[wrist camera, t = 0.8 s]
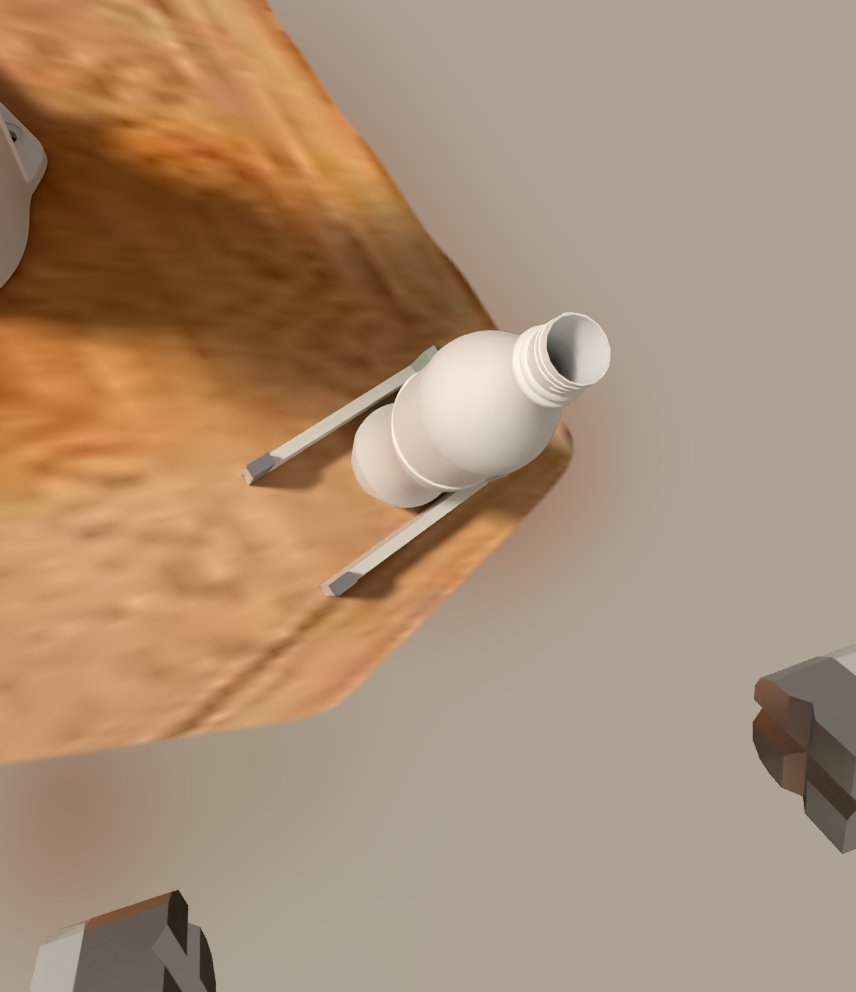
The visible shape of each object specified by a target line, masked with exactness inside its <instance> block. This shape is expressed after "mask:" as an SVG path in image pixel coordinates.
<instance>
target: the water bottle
mask: <svg viewBox="0 0 856 992" xmlns="http://www.w3.org/2000/svg"><path fill="white" fill-rule="evenodd" d="M610 351H611V350H610V347H609V343H608V339H607V336H606V335H605V333H604V332H603V330H602V329H601V327H600V326H599V324H597V323H596V322H595V321H593V320H592V319H591V318H589V317H588V316H586V315H583V314H579V313H575V312H566V313H563V314H561V315H560V316H559V317H557V318H554V319H552V320H550V321H549V322H548V323H547V324H543V325H538V326H534V327H531V328H529V329H528V330H526V331H525V332H523V333H522V334H521V335H517V334H514V333H509V332H505V331H496V330H486V331H477V332H473V333H470V334H467V335H463V336H460V337H458V338H457V339H455V340H453V341H451V342H449V343H448V344H447V345H445V346H444V347H442V348H441V349H440V350H439V351H438V352H437V353H436V354H435V355H434V356H433V357H432V359H431V360H430V362H429V363H428V364H427V365H426V366H425V367H424V368H423V369H422V370H420V371H418V372H417V373H415V374H414V375H412V376H411V377H410V378H409V379H407V380H406V381H405V383H404V384H403V386H402V387H401V389H400V391H399V393H398V395H397V397H396V400H395V403H392V404H388V405H385V406H382V407H380V408H378V409H376V410H375V411H374V412H372V413H371V414H370V415H369V416H368V417H367V418H366V419H365V420H364V421H363V423H362V424H361V425H360V427H359V428H358V430H357V432H356V434H355V438H354V444H353V451H352V457H351V464H352V468H353V472H354V474H355V477H356V479H357V481H358V483H359V484H360V486H361V487H362V489H363V490H364V491H365V492H366V493H368V494H369V495H371V496H373V497H375V498H377V499H378V500H380V501H382V502H384V503H386V504H387V505H389V506H391V507H397V508H411V507H417V506H421V505H424V504H426V503H428V502H430V501H432V500H434V499H435V498H436V497H438V496H439V495H440V494H441V493H442V492H455V491H460V490H464V489H467V488H470V487H473V486H475V485H478V484H480V483H481V482H483V481H485V480H486V479H487V478H490V477H492V476H497V475H503V474H508V473H511V472H513V471H516V470H518V469H520V468H522V467H523V466H525V465H527V464H528V463H530V462H531V461H532V460H533V459H535V458H536V457H537V456H538V455H539V454H540V453H541V452H542V451H543V450H544V448H545V447H546V446H547V445H548V444H549V442H550V440H551V438H552V436H553V435H554V433H555V431H556V429H557V426H558V423H559V420H560V416H561V412H562V408H563V407H564V406H567V405H569V404H571V403H572V402H574V401H575V400H576V399H577V398H578V397H579V396H580V394H581V393H582V392H583V391H584V390H585V389H587V388H589V387H590V386H592V385H594V384H596V383H597V382H598V381H599V380H600V379H601V378H602V377H603V376H604V375H605V373H606V371H607V369H608V366H609V364H610Z"/></svg>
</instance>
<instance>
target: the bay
mask: <svg viewBox="0 0 856 992" xmlns="http://www.w3.org/2000/svg"><path fill="white" fill-rule="evenodd" d="M437 352H438V350H437V349H436V347H435V346H432V347H430V348H429V349H427V350H425V351H424V352H423V353H422V354H421V355H420V356H419V357H418V358H417V359H416V360H415V361H414V362H413V363H412V364H411V365H410V366H408V367H406V368H405V369H403V370H402V371H400V372H398V373H397V374H395V375H394V376H392V377H390V378H389V379H387V380H386V381H384V382H382V383H381V384H379V385H378V386H376V387H374V388H373V389H371V390H370V391H368V392H366V393H365V394H363V395H362V396H360V397H359V398H357V399H355V400H354V401H352V402H351V403H349V404H347V405H346V406H344V407H343V408H341V409H339V410H338V411H336V412H335V413H333V414H331V415H330V416H328V417H327V418H325V419H323V420H322V421H320V422H319V423H317V424H315V425H314V426H312V427H311V428H309V429H307V430H306V431H304V432H303V433H301V434H299V435H298V436H296V437H295V438H293V439H291V440H290V441H288V442H287V443H285V444H283V445H282V446H280V447H279V448H277V449H276V450H274V451H272V452H271V453H269V452H268V453H266V454H265V455H263V456H261V457H260V458H258V459H257V460H255V461H254V462H252V463H250V464H249V465H247V467H246V469H245V471H244V473H243V474H242V476H243V478H244V479H245V481H246V482H247V483H248V485H250V484H252V483H254V482H255V481H257V480H258V479H260V478H261V477H263V476H265V475H266V474H268V473H269V472H271V471H272V470H274V469H275V468H277V467H279V466H280V465H282V464H283V463H285V462H286V461H288V460H290V459H291V458H293V457H294V456H296V455H297V454H299V453H301V452H302V451H304V450H305V449H307V448H308V447H310V446H312V445H313V444H315V443H316V442H318V441H319V440H321V439H323V438H324V437H326V436H327V435H329V434H330V433H332V432H334V431H335V430H337V429H338V428H340V427H341V426H343V425H345V424H346V423H348V422H349V421H351V420H352V419H354V418H355V417H357V416H359V415H360V414H362V413H363V412H365V411H366V410H368V409H370V408H371V407H373V406H374V405H376V404H377V403H379V402H381V401H382V400H384V399H385V398H387V397H388V396H390V395H392V394H393V393H395V392H396V391H398V390H399V389H401V387H402V386H403V384H404V383H405V381H406V380H407V379H409V378H410V377H411V376H412V375H414V374H415V373H417V372H418V371H420V370H422V369H423V368H424V367H425V366H426V365H427V364H428V363H429V362H430V360H431V359H432V357H433V356H434V355H435V354H436V353H437ZM511 473H512V472H511ZM511 473H508V474H503V475H497V476H492V477H490V478H487V479H486V480H485V481H483V482H481V483H480V484H478V485H475V486H473V487H470V488H467V489H464V490H460V491H455V492H448V493H447V494H446V495H444V496H443V497H441V498H440V499H439V500H437V501H436V502H435V503H433V504H432V505H430V506H429V507H428V508H426V509H425V510H424V511H422V512H421V513H419V514H418V515H417V516H415V517H414V518H413V519H411V520H410V521H408V522H407V523H406V524H404V525H403V526H402V527H400V528H399V529H397V530H396V531H395V532H393V533H392V534H390V535H389V536H388V537H386V538H385V539H384V540H382V541H381V542H379V543H378V544H377V545H375V546H374V547H373V548H371V549H370V550H368V551H367V552H366V553H364V554H363V555H362V556H360V557H359V558H357V559H356V560H355V561H353V562H352V563H351V564H349V565H348V566H346V567H345V568H344V569H342V570H341V571H339V572H338V573H337V574H335V575H334V576H333V577H331V578H330V579H328V580H327V581H326V582H324V583H323V584H322V585H320V586H319V587H320V588H321V590H322V591H323V593H324V594H325V595H326V596H339V595H341V594H342V593H343V592H345V591H346V590H347V589H349V588H350V587H351V586H353V585H354V584H356V583H357V582H358V581H357V580H358V579H359V578H360V577H362V576H363V575H364V574H366V573H367V572H368V571H370V570H371V569H372V568H374V567H375V566H377V565H378V564H379V563H381V562H382V561H383V560H385V559H386V558H387V557H389V556H390V555H391V554H393V553H394V552H395V551H397V550H398V549H400V548H401V547H402V546H404V545H405V544H406V543H408V542H409V541H410V540H412V539H413V538H414V537H416V536H417V535H419V534H420V533H421V532H423V531H424V530H425V529H427V528H428V527H429V526H431V525H432V524H433V523H435V522H436V521H437V520H439V519H440V518H442V517H443V516H444V515H446V514H447V513H448V512H450V511H451V510H452V509H454V508H455V507H456V506H458V505H459V504H461V503H462V502H463V501H465V500H466V499H467V498H469V497H470V496H471V495H473V494H474V493H475V492H477V491H478V490H479V489H481V488H482V487H484V486H485V485H486V484H488V483H489V482H492V481H495V480H498V479H501V478H503V477H506V476H508V475H509V474H511Z"/></svg>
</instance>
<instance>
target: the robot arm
mask: <svg viewBox="0 0 856 992" xmlns="http://www.w3.org/2000/svg"><path fill="white" fill-rule="evenodd" d="M11 137H13V138H15V139H17V140H16V141H15V142H14V143H13V141H12V138H11ZM47 163H48V159H47V155H46V153H45V151H44V149H43V147H42V145H41V143H40V142H39V141H38V139H37V138H36V137H35V136H34V135H33V134H32V133H31V132H30V131H29V130H28V129H27V128H26V127H25V126H24V125H23V124H22V123H21V122H20V121H19V120H18V119H17V118H16V117H15V116H14V115H13V114H12V113H11V112H10V111H9V110H8V109H7V108H6V107H5V106H4V105H3V104H2V103H1V102H0V288H1V287H2V286H3V285H4V284H5V283H6V282H7V280H8V279H9V278H10V277H11V275H12V274H13V273H14V271H15V269H16V268H17V266H18V264H19V262H20V260H21V258H22V256H23V253H24V251H25V247H26V244H27V239H28V233H29V214H30V201H31V197H32V194H33V193H34V191H35V189H36V188H37V186H38V184H39V183H40V181H41V179H42V177H43V175H44V173H45V171H46V168H47ZM754 700H755V701H756V702H757V703H758V704H759V705H760V706H761V707H762V709H761V711H760V712H759V714H758V715H757V717H756V718H755V720H754V721H753V742H754V744H755V747H756V750H757V752H758V755H759V758H760V760H761V761H762V763H763V765H764V766H765V768H766V769H767V771H768V772H769V774H770V775H771V776H772V777H773V778H774V779H775V780H776V782H777V783H778V784H779V785H780V786H781V787H782V788H784V789H787V790H789V791H792V792H794V793H796V794H799V795H801V796H803V801H804V809H805V814H806V815H807V816H808V817H809V818H810V819H811V820H812V821H813V823H815V825H816V826H817V827H818V828H819V829H820V830H821V831H822V832H823V833H824V834H825V836H826V837H827V838H828V839H829V840H830V841H831V842H832V843H833V844H834V845H835V847H836V848H837V849H838V850H839V851H840V852H841V853H842V854H843V853H846V852H849V851H852V850H854V849H856V645H855V644H854V645H851V646H848V647H845V648H842V649H839V650H837V651H834V652H831V653H828V654H826V655H823V656H821V657H815V658H813V659H810V660H807V661H804V662H802V663H799V664H797V665H794V666H791V667H789V668H786V669H783V670H781V671H778V672H775V673H773V674H770V675H767V676H765V677H762V678H760V679H759V681H758V682H757V684H756V685H755V693H754ZM29 992H216V980H215V973H214V967H213V960H212V955H211V952H210V948H209V945H208V942H207V939H206V937H205V935H204V934H203V932H202V930H201V928H200V927H199V926H196V925H193V924H190V923H188V904H187V903H186V901H185V900H184V898H183V896H182V895H181V893H180V892H179V890H176V891H172V892H169V893H167V894H164V895H161V896H157V897H154V898H151V899H148V900H145V901H142V902H139V903H136V904H133V905H130V906H127V907H124V908H121V909H118V910H115V911H112V912H109V913H106V914H103V915H100V916H97V917H94V918H91V919H88V920H86V921H83V922H80V923H77V924H74V925H71V926H69V927H65V928H63V929H60V930H57V931H54V932H51V933H48V934H47V936H46V938H45V940H44V942H43V943H42V945H41V947H40V949H39V951H38V956H37V960H36V964H35V969H34V973H33V977H32V982H31V987H30V991H29Z"/></svg>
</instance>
